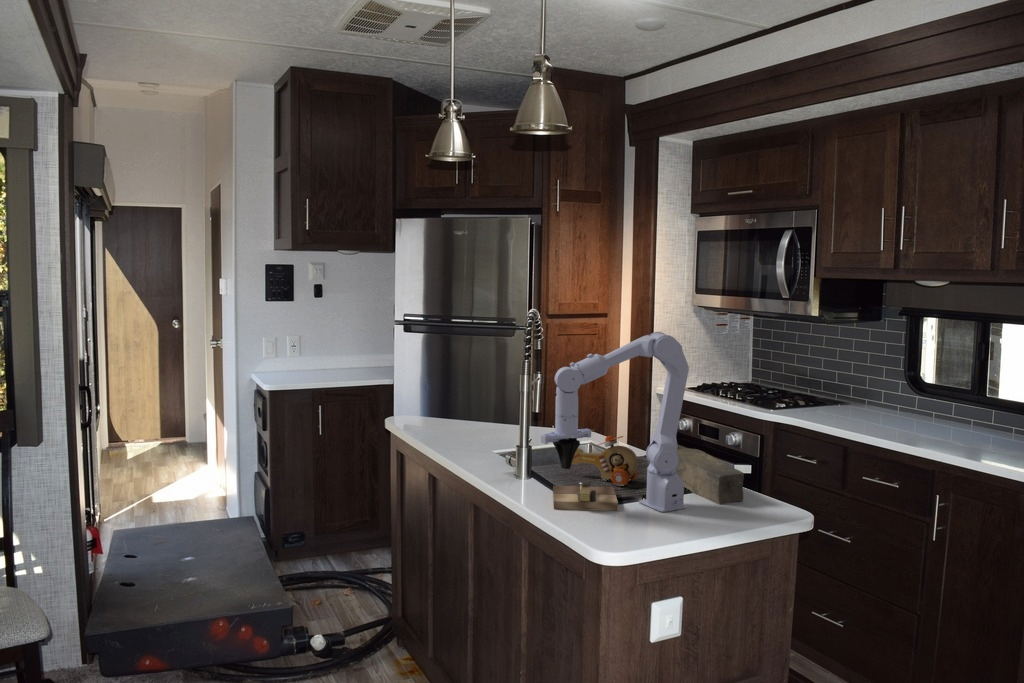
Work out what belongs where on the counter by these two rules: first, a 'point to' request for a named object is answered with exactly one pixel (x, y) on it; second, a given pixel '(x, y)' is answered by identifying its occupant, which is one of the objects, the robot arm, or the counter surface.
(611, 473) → the toy helicopter
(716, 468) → the weathered wooden bar
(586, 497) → the swing bar
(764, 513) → the counter surface
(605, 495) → the lock board
